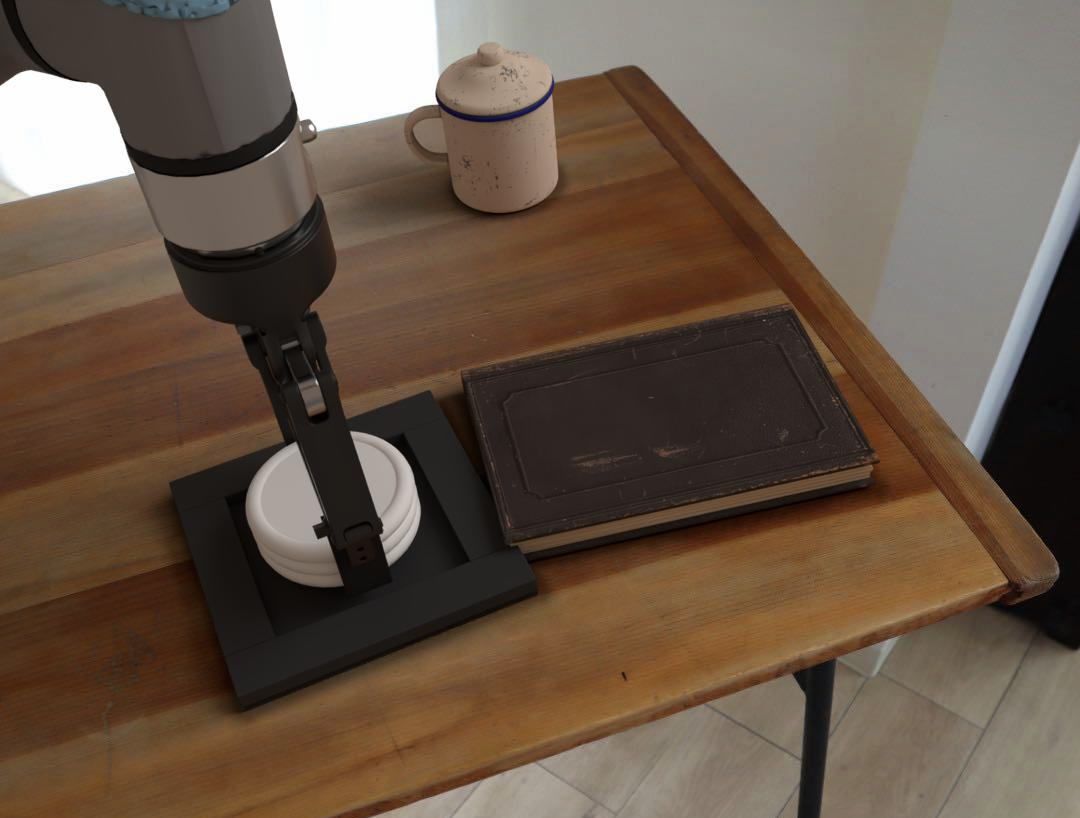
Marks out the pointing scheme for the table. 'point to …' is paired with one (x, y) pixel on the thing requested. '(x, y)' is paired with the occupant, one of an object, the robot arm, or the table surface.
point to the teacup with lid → (494, 129)
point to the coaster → (292, 509)
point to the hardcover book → (662, 431)
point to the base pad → (327, 612)
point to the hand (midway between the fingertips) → (341, 522)
